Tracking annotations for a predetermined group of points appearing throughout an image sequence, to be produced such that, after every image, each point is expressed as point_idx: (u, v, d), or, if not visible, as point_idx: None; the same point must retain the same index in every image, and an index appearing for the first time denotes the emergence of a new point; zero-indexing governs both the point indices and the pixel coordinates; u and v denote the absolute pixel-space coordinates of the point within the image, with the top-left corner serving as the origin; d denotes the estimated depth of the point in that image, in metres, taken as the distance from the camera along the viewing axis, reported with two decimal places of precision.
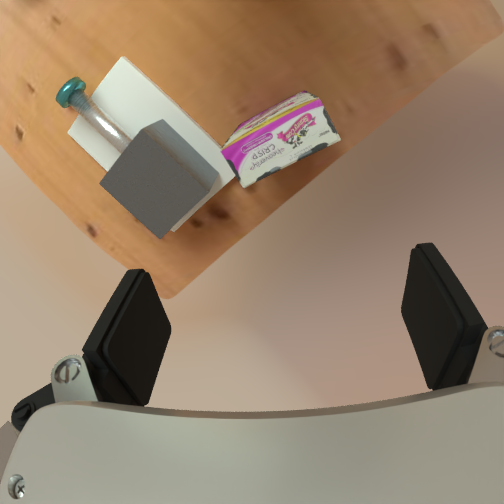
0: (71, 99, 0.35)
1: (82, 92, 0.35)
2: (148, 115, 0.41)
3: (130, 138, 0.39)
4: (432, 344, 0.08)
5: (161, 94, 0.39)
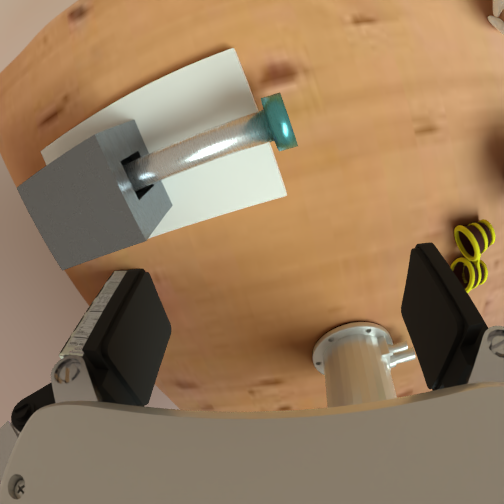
0: (261, 129, 0.23)
1: (263, 143, 0.25)
2: (184, 190, 0.32)
3: (152, 183, 0.28)
4: (432, 344, 0.08)
5: (203, 218, 0.34)
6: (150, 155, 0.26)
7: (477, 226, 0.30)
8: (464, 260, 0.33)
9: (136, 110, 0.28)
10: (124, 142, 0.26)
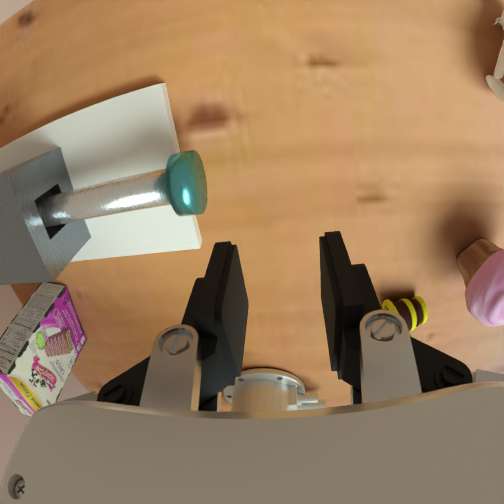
0: (164, 192, 0.22)
1: None
2: (102, 225, 0.30)
3: (64, 223, 0.25)
4: (330, 327, 0.09)
5: (119, 254, 0.31)
6: (62, 197, 0.23)
7: (408, 305, 0.31)
8: None
9: (62, 138, 0.25)
10: (42, 177, 0.23)
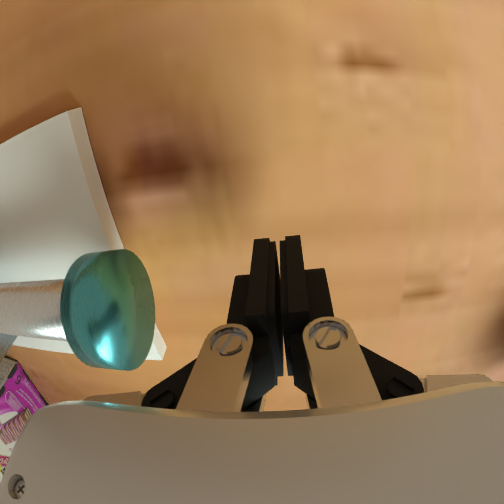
0: None
1: None
2: None
3: None
4: None
5: (61, 350, 0.20)
6: None
7: None
8: None
9: None
10: None
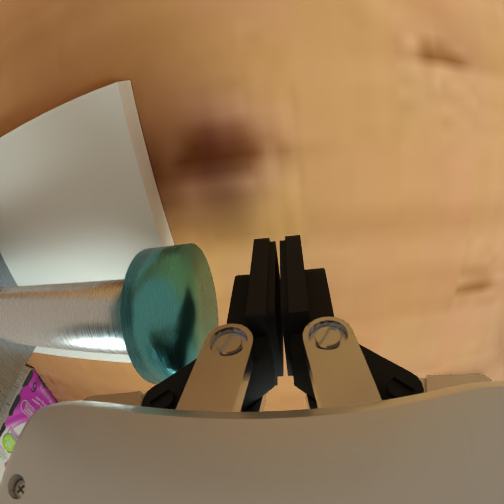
0: None
1: None
2: None
3: None
4: None
5: (88, 357, 0.19)
6: None
7: None
8: None
9: None
10: None
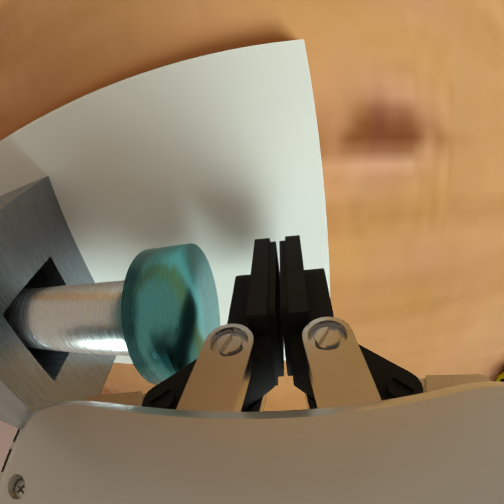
0: None
1: None
2: None
3: None
4: None
5: None
6: None
7: None
8: None
9: (51, 157, 0.11)
10: (13, 254, 0.10)
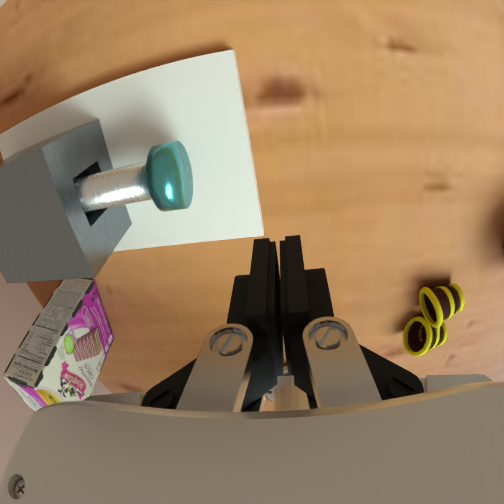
0: (145, 187, 0.20)
1: None
2: (147, 210, 0.27)
3: None
4: None
5: (165, 243, 0.29)
6: None
7: (446, 292, 0.29)
8: (424, 322, 0.32)
9: (102, 108, 0.21)
10: (80, 152, 0.20)
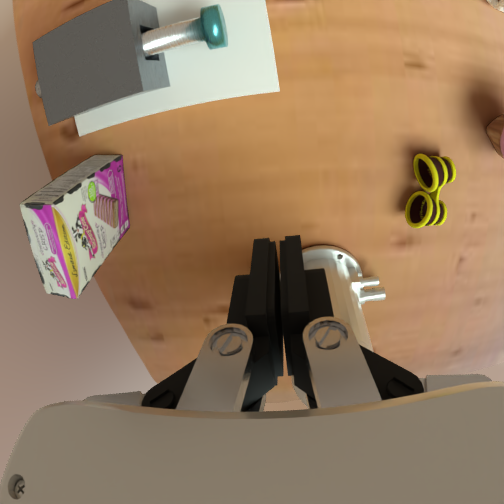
0: (196, 27, 0.23)
1: (197, 42, 0.25)
2: (185, 73, 0.30)
3: None
4: None
5: (196, 102, 0.32)
6: None
7: (437, 157, 0.32)
8: (422, 192, 0.35)
9: (160, 0, 0.25)
10: (145, 15, 0.23)
